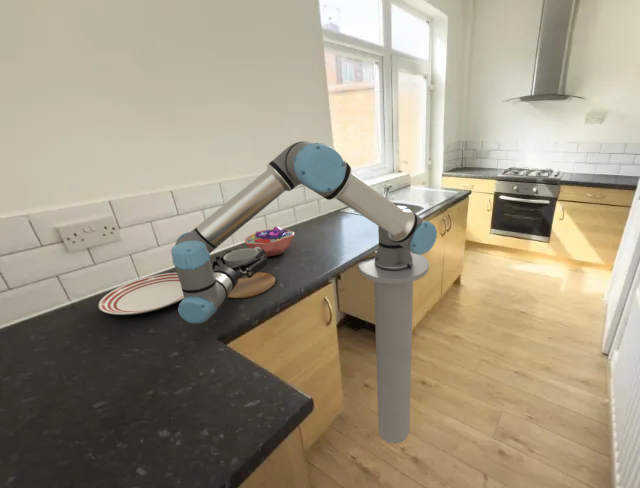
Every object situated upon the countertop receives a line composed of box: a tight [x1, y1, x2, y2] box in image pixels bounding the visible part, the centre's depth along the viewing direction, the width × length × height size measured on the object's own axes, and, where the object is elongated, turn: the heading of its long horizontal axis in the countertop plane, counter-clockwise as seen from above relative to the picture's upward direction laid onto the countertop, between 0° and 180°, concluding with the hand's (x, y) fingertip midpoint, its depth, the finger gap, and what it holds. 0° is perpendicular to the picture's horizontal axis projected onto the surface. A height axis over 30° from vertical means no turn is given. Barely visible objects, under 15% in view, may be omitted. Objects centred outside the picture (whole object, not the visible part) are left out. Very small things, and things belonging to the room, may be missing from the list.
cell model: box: [244, 226, 295, 258], centre depth 134 cm, size 17×20×11 cm
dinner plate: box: [98, 272, 184, 316], centre depth 103 cm, size 27×27×3 cm
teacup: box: [223, 247, 262, 279], centre depth 108 cm, size 14×11×8 cm
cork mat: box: [226, 271, 276, 299], centre depth 111 cm, size 18×18×1 cm
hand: (247, 253), depth 111 cm, fingers closed on teacup, 11 cm apart
